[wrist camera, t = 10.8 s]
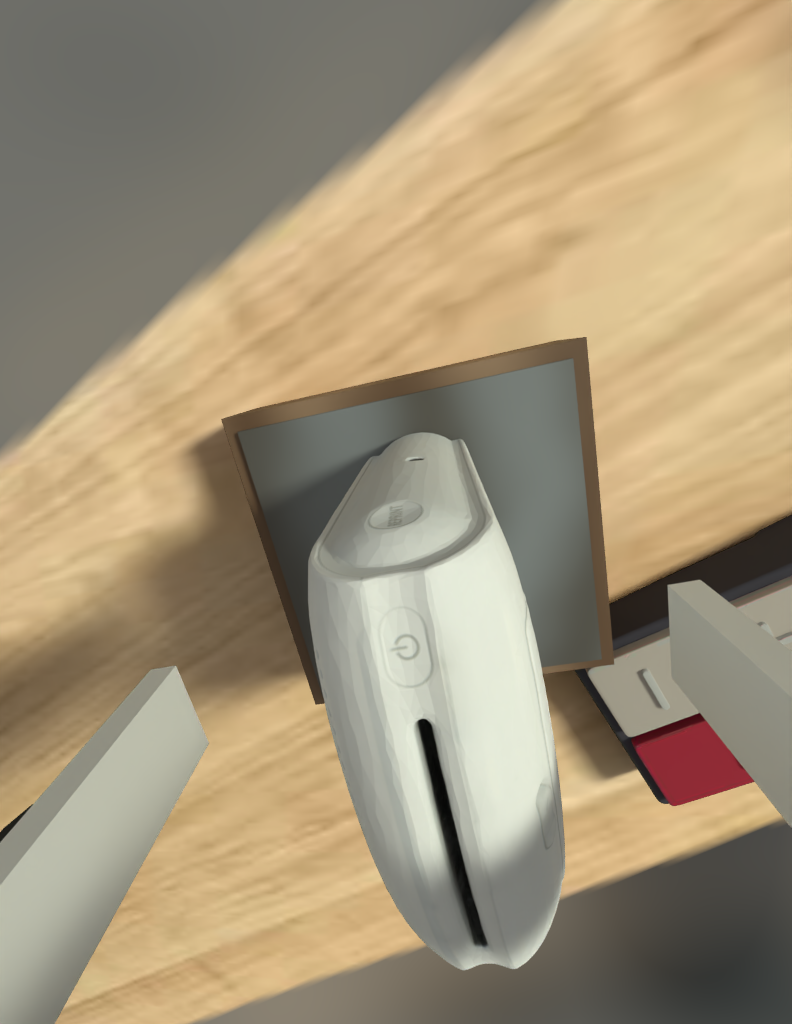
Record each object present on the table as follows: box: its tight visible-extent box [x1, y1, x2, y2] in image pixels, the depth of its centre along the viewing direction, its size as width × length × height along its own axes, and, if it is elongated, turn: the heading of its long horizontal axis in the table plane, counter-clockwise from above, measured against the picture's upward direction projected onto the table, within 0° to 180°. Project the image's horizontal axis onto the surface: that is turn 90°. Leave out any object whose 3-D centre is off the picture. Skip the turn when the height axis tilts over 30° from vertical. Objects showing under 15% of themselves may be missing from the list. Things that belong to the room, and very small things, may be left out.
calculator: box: [575, 515, 792, 806], centre depth 23 cm, size 11×4×15 cm
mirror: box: [221, 337, 614, 704], centre depth 21 cm, size 14×14×4 cm
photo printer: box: [308, 432, 565, 970], centre depth 13 cm, size 10×4×12 cm, turn 12°
